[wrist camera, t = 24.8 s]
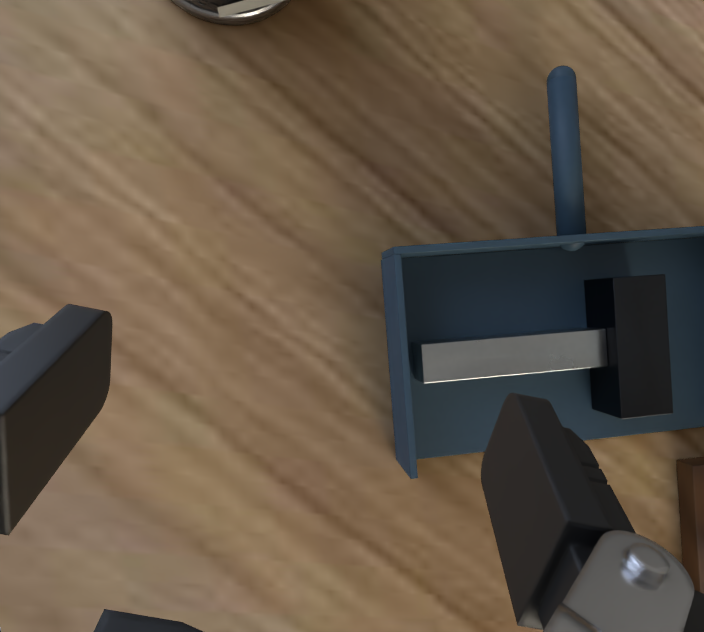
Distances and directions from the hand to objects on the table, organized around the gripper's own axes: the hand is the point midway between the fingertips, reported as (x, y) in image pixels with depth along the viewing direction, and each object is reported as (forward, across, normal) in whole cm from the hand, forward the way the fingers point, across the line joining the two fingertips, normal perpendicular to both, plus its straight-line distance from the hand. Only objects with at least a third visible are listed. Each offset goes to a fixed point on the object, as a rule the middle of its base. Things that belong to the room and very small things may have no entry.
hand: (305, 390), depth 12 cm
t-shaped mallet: (+22, -13, +8) cm, 27 cm away
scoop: (+24, -14, +3) cm, 28 cm away
